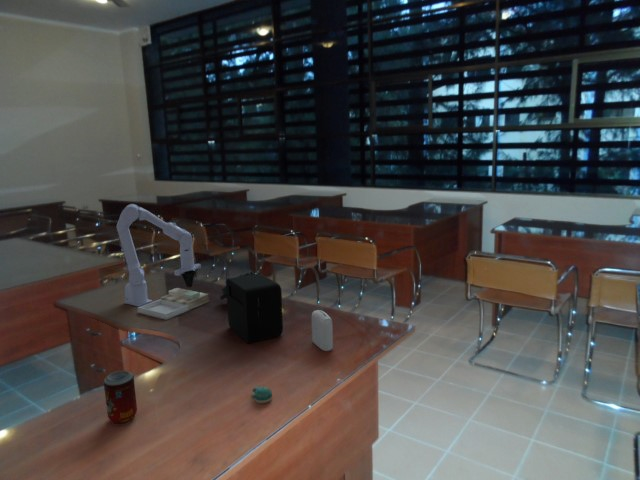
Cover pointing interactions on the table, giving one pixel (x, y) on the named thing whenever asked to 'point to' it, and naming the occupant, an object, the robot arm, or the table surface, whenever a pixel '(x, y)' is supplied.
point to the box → (163, 309)
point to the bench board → (191, 303)
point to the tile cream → (176, 292)
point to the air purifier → (254, 307)
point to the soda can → (120, 397)
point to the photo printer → (322, 330)
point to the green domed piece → (262, 394)
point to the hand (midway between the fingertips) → (189, 286)
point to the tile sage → (191, 295)
